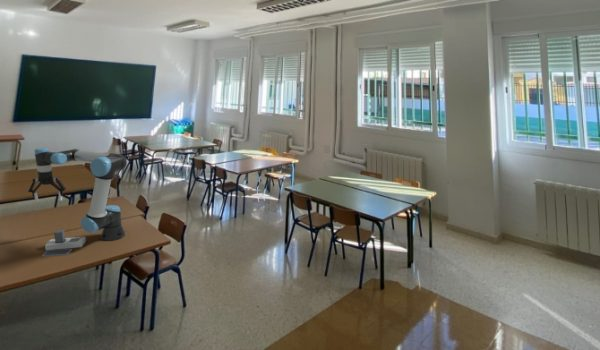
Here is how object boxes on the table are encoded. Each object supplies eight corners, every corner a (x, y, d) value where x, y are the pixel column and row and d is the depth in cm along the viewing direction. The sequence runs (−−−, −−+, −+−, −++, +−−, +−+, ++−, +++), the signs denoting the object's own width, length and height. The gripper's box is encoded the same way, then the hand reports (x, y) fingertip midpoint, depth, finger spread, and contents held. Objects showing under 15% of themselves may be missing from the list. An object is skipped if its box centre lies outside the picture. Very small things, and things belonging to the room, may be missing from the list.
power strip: (85, 241, 217) (85, 235, 216) (81, 246, 209) (81, 241, 208) (51, 244, 211) (50, 238, 210) (45, 250, 203) (44, 244, 202)
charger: (66, 243, 212) (64, 229, 209) (63, 246, 208) (61, 232, 205) (58, 244, 210) (56, 230, 208) (56, 247, 206) (54, 233, 204)
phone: (47, 252, 202) (46, 250, 201) (72, 250, 206) (72, 248, 205) (41, 257, 195) (41, 256, 195) (68, 255, 199) (67, 253, 199)
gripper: (68, 169, 217) (72, 198, 222) (24, 170, 209) (29, 200, 214) (65, 171, 210) (69, 201, 215) (18, 172, 202) (24, 203, 207)
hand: (49, 201), depth 215 cm, fingers open, 13 cm apart
